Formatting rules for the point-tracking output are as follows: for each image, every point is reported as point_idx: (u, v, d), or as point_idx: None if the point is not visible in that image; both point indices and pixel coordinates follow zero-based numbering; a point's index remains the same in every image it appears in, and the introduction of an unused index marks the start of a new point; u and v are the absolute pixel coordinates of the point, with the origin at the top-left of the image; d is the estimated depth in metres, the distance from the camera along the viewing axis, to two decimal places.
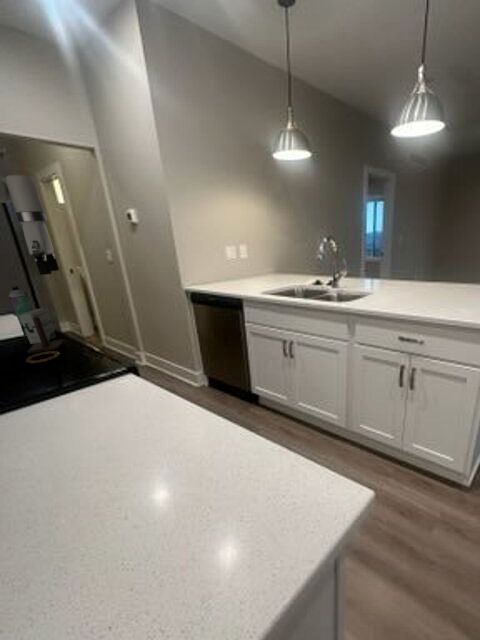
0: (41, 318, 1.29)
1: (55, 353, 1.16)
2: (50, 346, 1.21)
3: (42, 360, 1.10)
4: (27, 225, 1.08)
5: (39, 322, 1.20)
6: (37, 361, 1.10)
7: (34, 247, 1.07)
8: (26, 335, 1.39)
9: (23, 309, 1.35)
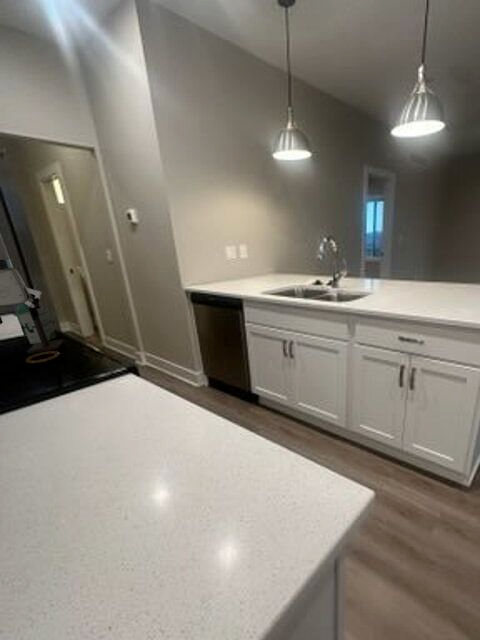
0: (41, 318, 1.29)
1: (55, 353, 1.16)
2: (50, 346, 1.21)
3: (42, 360, 1.10)
4: (16, 271, 1.04)
5: (39, 322, 1.20)
6: (37, 361, 1.10)
7: (38, 291, 1.08)
8: (26, 335, 1.39)
9: (23, 309, 1.35)
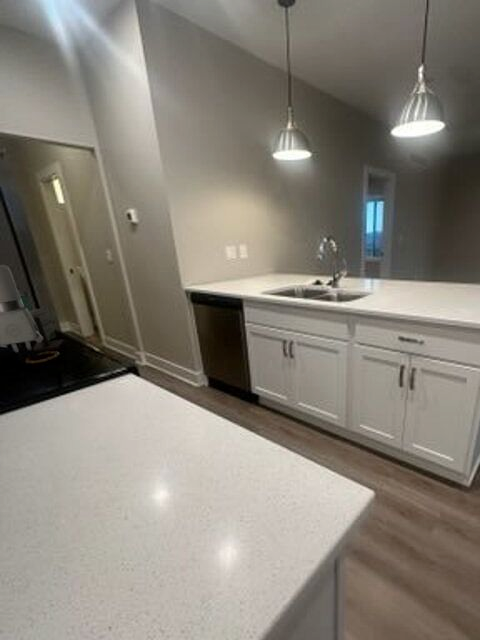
0: (41, 318, 1.29)
1: (55, 353, 1.16)
2: (50, 346, 1.21)
3: (42, 360, 1.10)
4: (27, 311, 1.07)
5: (39, 322, 1.20)
6: (37, 361, 1.10)
7: (42, 337, 1.12)
8: None
9: None
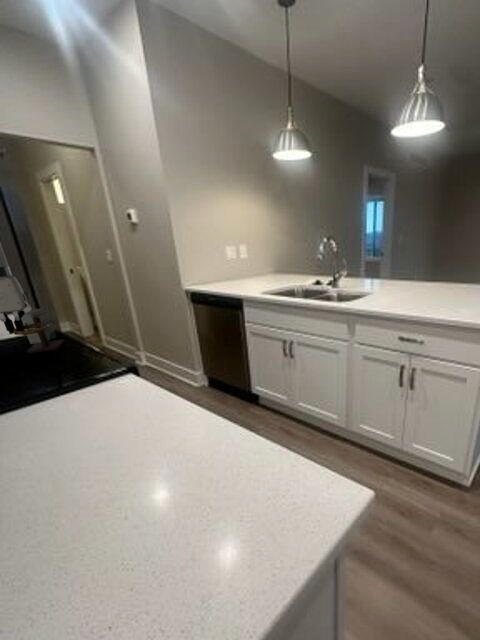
0: (41, 318, 1.29)
1: (44, 325, 1.12)
2: (50, 346, 1.21)
3: (30, 331, 1.07)
4: (14, 279, 1.04)
5: (39, 322, 1.20)
6: (24, 332, 1.06)
7: (30, 307, 1.08)
8: (26, 335, 1.39)
9: None
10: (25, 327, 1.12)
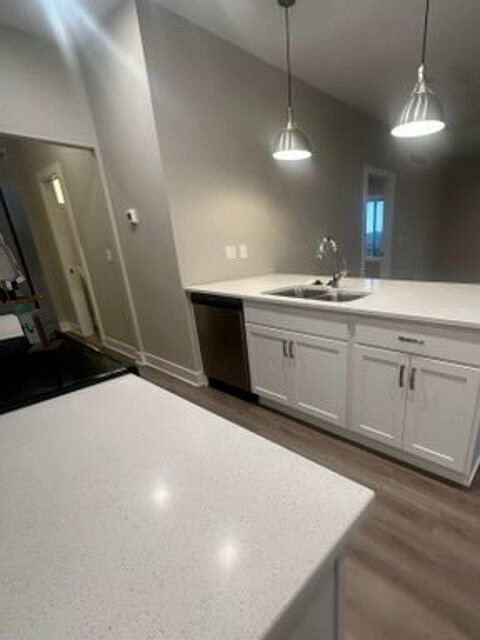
0: (41, 318, 1.29)
1: (37, 296, 1.13)
2: (50, 346, 1.21)
3: (22, 300, 1.07)
4: (7, 248, 1.05)
5: (39, 322, 1.20)
6: (17, 301, 1.07)
7: (23, 277, 1.09)
8: (26, 335, 1.39)
9: (23, 309, 1.35)
10: (18, 298, 1.13)
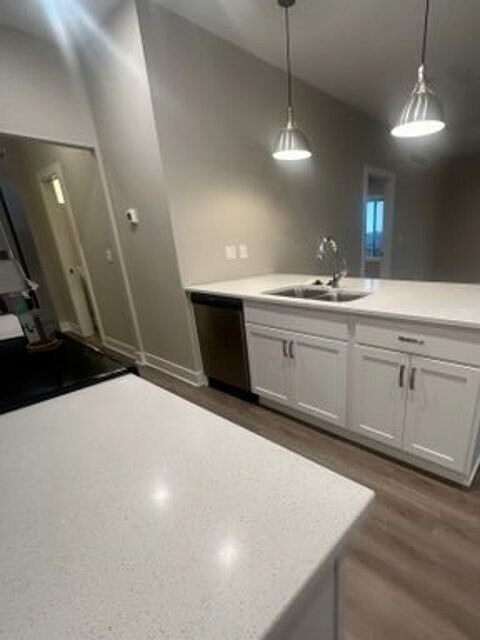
0: (41, 318, 1.29)
1: (53, 340, 1.25)
2: (50, 346, 1.21)
3: (41, 346, 1.19)
4: (16, 262, 1.12)
5: (39, 322, 1.20)
6: (36, 347, 1.19)
7: (36, 284, 1.16)
8: (26, 335, 1.39)
9: (23, 309, 1.35)
10: (36, 342, 1.25)
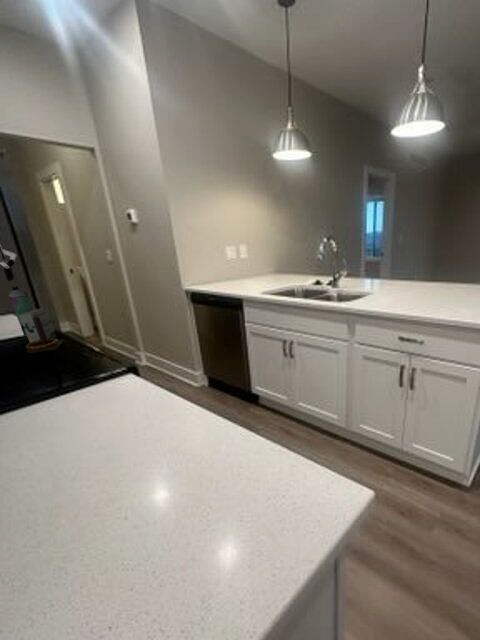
0: (41, 318, 1.29)
1: (53, 340, 1.25)
2: (50, 346, 1.21)
3: (41, 346, 1.19)
4: None
5: (39, 322, 1.20)
6: (36, 347, 1.19)
7: (13, 253, 1.14)
8: (26, 335, 1.39)
9: (23, 309, 1.35)
10: (36, 342, 1.25)
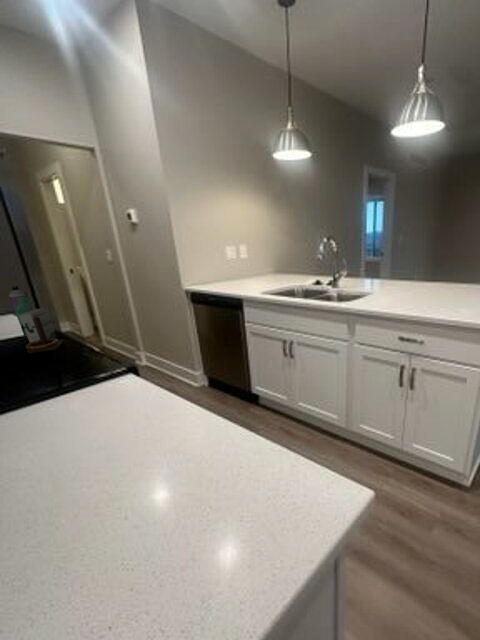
0: (41, 318, 1.29)
1: (53, 340, 1.25)
2: (50, 346, 1.21)
3: (41, 346, 1.19)
4: None
5: (39, 322, 1.20)
6: (36, 347, 1.19)
7: None
8: (26, 335, 1.39)
9: (23, 309, 1.35)
10: (36, 342, 1.25)
